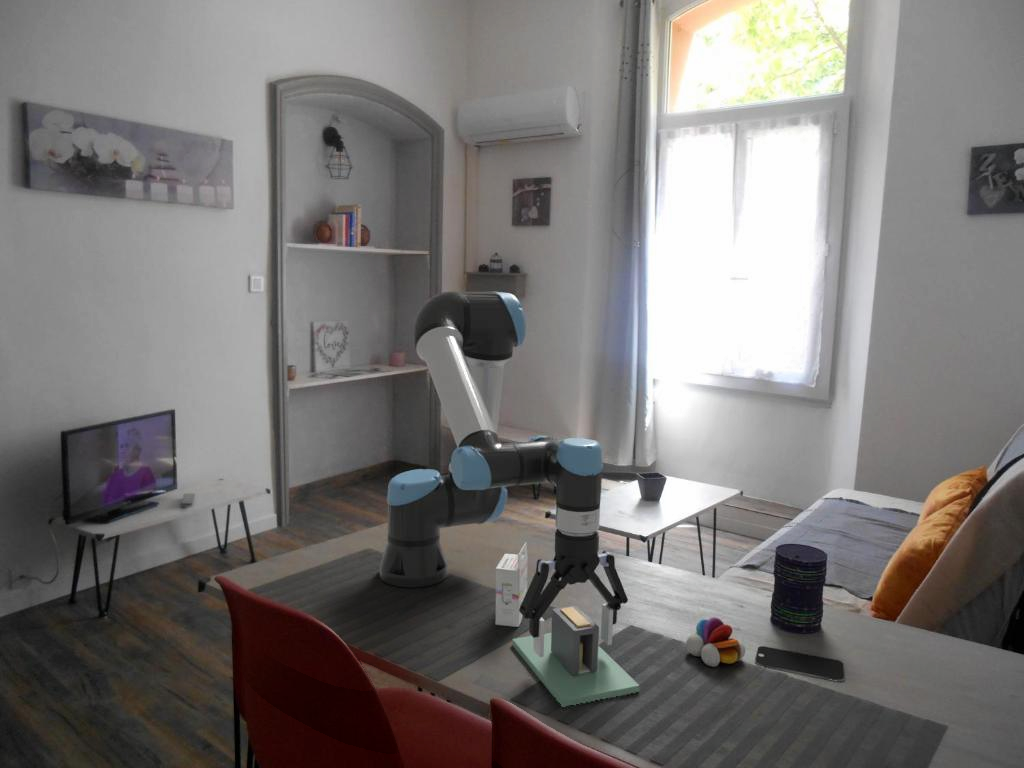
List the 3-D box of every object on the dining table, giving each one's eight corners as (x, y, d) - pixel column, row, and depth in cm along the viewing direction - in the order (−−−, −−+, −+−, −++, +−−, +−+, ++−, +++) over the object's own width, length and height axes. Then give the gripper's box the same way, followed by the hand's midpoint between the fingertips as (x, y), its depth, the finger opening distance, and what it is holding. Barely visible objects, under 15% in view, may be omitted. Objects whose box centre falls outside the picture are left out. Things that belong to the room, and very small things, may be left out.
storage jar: (778, 608, 163) (783, 540, 161) (827, 621, 158) (833, 550, 156) (762, 625, 155) (768, 553, 153) (814, 640, 150) (820, 565, 148)
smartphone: (757, 644, 147) (844, 660, 141) (757, 648, 147) (844, 664, 141) (754, 663, 140) (845, 681, 134) (753, 667, 140) (844, 685, 134)
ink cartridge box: (503, 606, 161) (504, 538, 159) (526, 609, 160) (528, 540, 158) (493, 625, 153) (495, 553, 151) (518, 628, 152) (520, 555, 150)
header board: (512, 645, 145) (512, 616, 144) (580, 633, 150) (581, 605, 149) (562, 707, 125) (563, 674, 124) (639, 692, 130) (640, 660, 129)
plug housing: (550, 651, 140) (552, 607, 139) (574, 647, 142) (575, 603, 141) (572, 675, 132) (574, 629, 131) (597, 671, 134) (599, 625, 132)
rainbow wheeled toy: (714, 675, 136) (717, 635, 135) (678, 650, 145) (681, 613, 144) (751, 664, 140) (754, 626, 139) (714, 641, 149) (716, 605, 147)
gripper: (518, 544, 126) (515, 669, 129) (651, 529, 135) (645, 646, 138) (502, 529, 133) (499, 648, 136) (629, 516, 142) (623, 627, 145)
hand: (572, 647), depth 137 cm, fingers open, 12 cm apart
